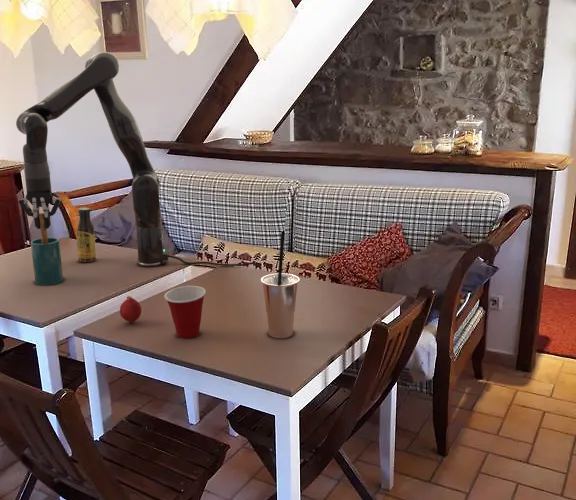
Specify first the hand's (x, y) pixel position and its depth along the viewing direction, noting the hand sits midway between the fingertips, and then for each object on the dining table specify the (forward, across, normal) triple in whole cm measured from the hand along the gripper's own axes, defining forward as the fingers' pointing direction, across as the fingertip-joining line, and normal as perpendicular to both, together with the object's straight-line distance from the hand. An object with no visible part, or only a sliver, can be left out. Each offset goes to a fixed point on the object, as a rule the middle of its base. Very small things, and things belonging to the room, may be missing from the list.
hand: (43, 228), depth 210 cm
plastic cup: (+18, +49, -51) cm, 73 cm away
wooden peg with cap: (+15, 0, 0) cm, 15 cm away
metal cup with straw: (+18, +74, -54) cm, 94 cm away
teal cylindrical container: (+18, 0, 0) cm, 18 cm away
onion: (+18, +33, -41) cm, 56 cm away
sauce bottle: (+19, +8, +23) cm, 31 cm away
